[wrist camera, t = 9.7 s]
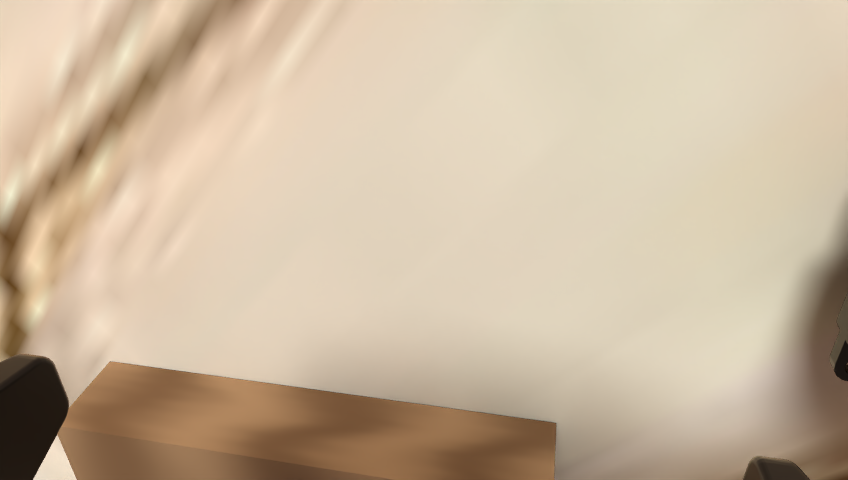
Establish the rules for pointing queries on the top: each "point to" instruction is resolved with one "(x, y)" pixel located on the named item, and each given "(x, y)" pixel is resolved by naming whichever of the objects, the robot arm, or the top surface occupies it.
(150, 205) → the top surface
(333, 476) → the can holder
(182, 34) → the top surface
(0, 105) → the top surface
